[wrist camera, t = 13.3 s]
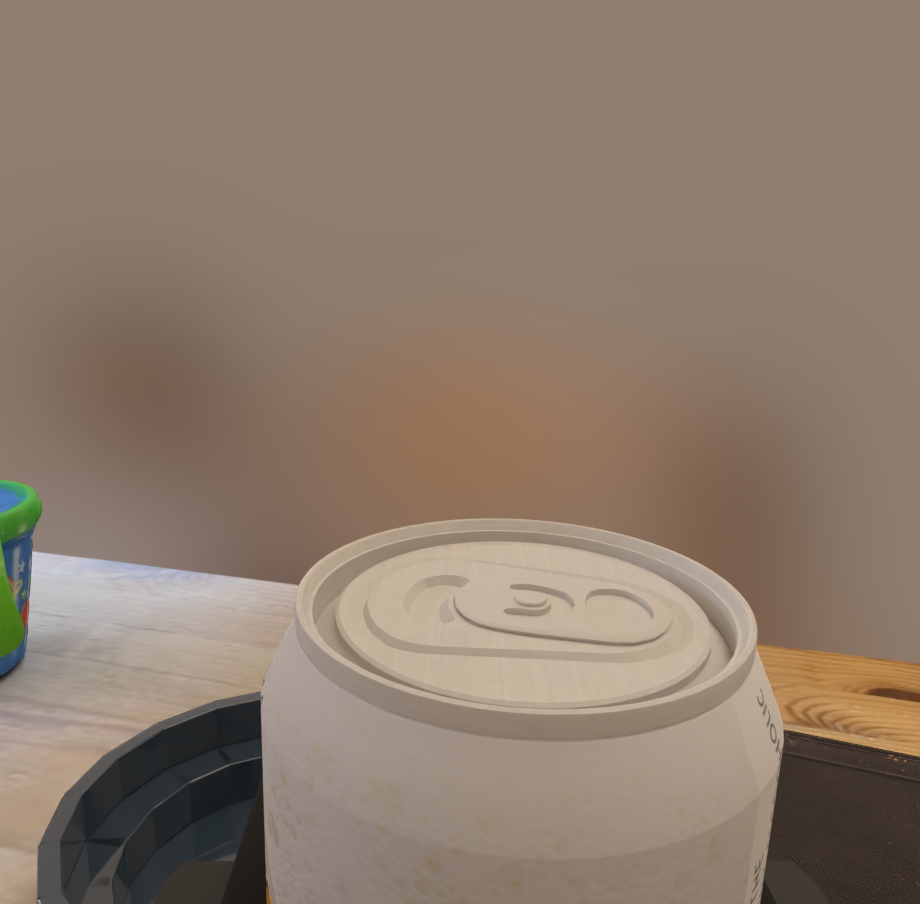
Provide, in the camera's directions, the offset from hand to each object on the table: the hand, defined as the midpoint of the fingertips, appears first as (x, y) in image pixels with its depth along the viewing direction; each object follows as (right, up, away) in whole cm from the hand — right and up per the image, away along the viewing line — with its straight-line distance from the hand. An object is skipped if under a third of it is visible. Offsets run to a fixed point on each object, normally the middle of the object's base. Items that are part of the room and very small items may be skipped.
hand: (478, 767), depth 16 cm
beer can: (0, -10, -3) cm, 11 cm away
